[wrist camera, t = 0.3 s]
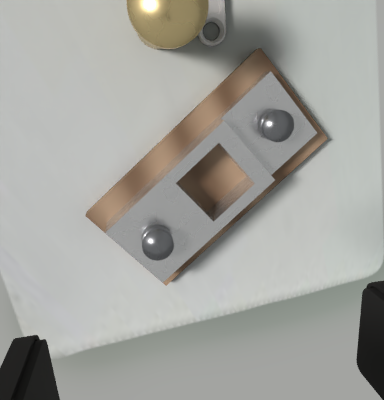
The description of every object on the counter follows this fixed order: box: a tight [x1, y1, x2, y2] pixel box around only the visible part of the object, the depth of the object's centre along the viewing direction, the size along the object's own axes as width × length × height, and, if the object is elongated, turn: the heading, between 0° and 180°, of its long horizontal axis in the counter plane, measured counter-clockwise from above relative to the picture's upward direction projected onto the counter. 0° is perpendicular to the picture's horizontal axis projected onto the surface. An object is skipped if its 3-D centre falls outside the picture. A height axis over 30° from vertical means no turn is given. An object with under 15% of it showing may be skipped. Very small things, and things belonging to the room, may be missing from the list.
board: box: [86, 48, 328, 285], centre depth 39 cm, size 24×12×1 cm, turn 132°
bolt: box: [127, 0, 209, 49], centre depth 30 cm, size 6×6×10 cm
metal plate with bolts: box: [105, 71, 317, 283], centre depth 36 cm, size 22×8×5 cm, turn 132°
